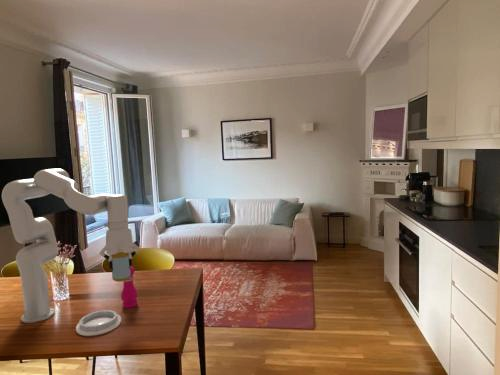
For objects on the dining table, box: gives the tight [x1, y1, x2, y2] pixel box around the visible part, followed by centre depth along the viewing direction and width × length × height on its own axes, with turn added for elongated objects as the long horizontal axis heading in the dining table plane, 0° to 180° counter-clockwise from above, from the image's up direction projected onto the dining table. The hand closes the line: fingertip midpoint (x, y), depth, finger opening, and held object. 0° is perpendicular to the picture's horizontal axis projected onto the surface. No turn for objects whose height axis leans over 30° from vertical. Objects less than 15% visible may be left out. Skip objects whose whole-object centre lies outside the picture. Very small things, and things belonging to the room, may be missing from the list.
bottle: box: [111, 244, 131, 283], centre depth 143 cm, size 7×7×15 cm
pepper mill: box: [120, 265, 139, 309], centre depth 161 cm, size 7×7×20 cm
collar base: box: [75, 309, 122, 337], centre depth 144 cm, size 17×17×3 cm
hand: (121, 268), depth 144 cm, fingers closed on bottle, 5 cm apart
